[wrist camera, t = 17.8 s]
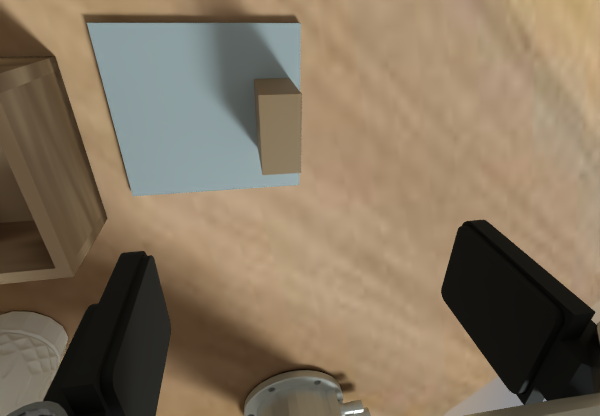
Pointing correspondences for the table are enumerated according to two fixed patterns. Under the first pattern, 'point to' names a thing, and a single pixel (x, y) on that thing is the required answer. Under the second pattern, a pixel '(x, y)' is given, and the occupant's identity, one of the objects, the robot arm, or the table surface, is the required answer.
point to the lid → (203, 103)
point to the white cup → (28, 357)
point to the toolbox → (42, 176)
